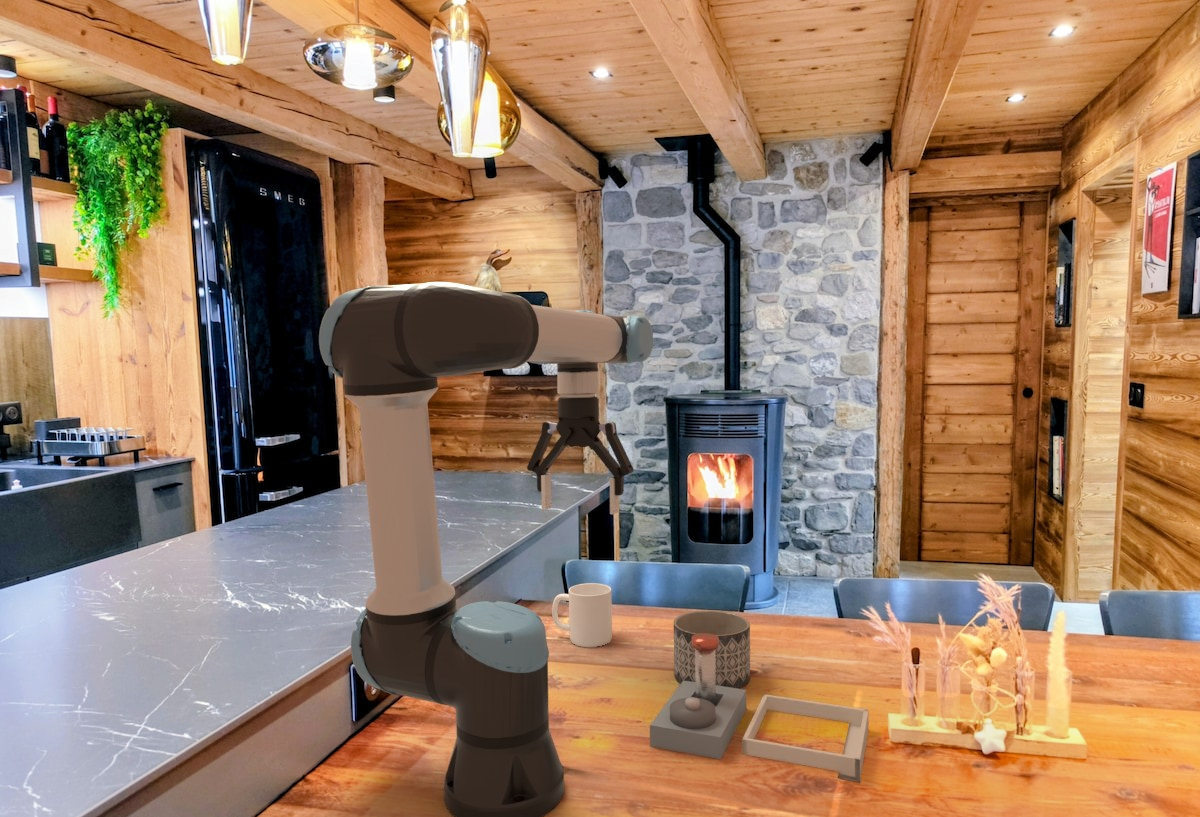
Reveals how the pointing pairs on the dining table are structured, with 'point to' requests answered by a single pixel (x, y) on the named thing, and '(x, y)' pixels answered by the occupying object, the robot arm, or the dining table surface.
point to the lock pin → (705, 665)
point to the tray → (844, 763)
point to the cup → (587, 614)
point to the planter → (728, 655)
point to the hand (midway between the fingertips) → (580, 511)
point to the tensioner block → (698, 721)
